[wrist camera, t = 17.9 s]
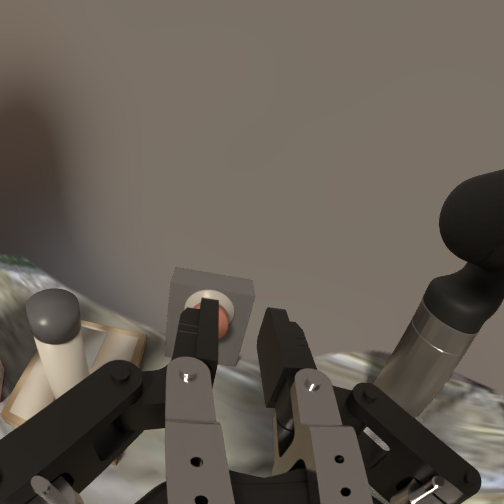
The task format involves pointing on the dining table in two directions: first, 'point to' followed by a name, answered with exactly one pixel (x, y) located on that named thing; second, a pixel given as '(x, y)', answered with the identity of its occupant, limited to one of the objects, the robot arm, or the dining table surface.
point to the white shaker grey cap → (58, 337)
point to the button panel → (219, 288)
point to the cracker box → (1, 377)
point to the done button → (220, 320)
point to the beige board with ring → (97, 354)
